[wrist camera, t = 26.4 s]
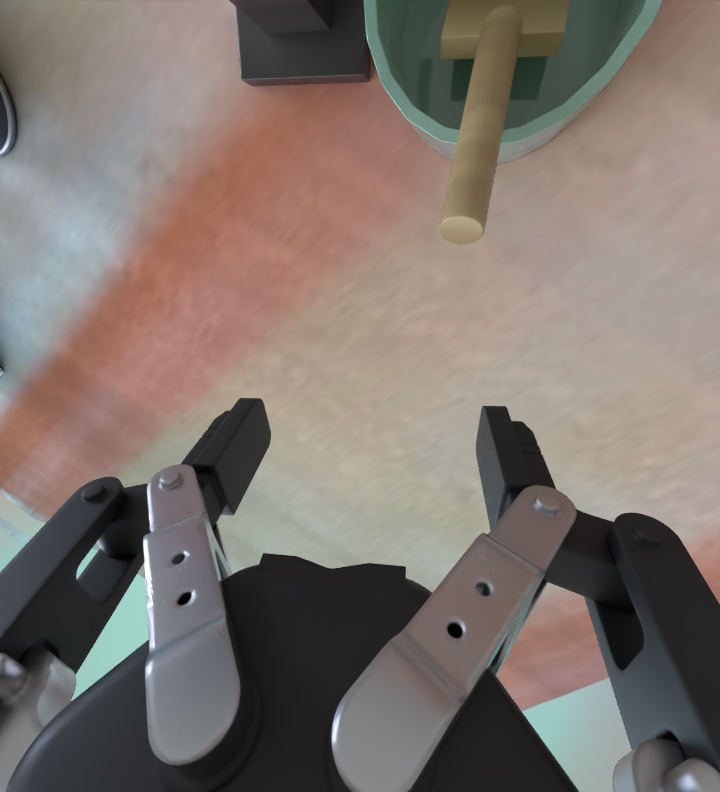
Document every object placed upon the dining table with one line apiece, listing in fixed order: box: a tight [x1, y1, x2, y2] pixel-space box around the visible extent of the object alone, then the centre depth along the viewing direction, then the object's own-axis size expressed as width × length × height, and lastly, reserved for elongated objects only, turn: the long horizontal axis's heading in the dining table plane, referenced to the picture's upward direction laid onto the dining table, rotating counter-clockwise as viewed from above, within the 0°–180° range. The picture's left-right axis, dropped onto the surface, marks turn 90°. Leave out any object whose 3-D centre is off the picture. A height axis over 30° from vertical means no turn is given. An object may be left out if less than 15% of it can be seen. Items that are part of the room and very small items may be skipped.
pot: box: [364, 0, 664, 164], centre depth 21 cm, size 14×14×8 cm
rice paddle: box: [439, 0, 570, 244], centre depth 19 cm, size 19×6×2 cm
